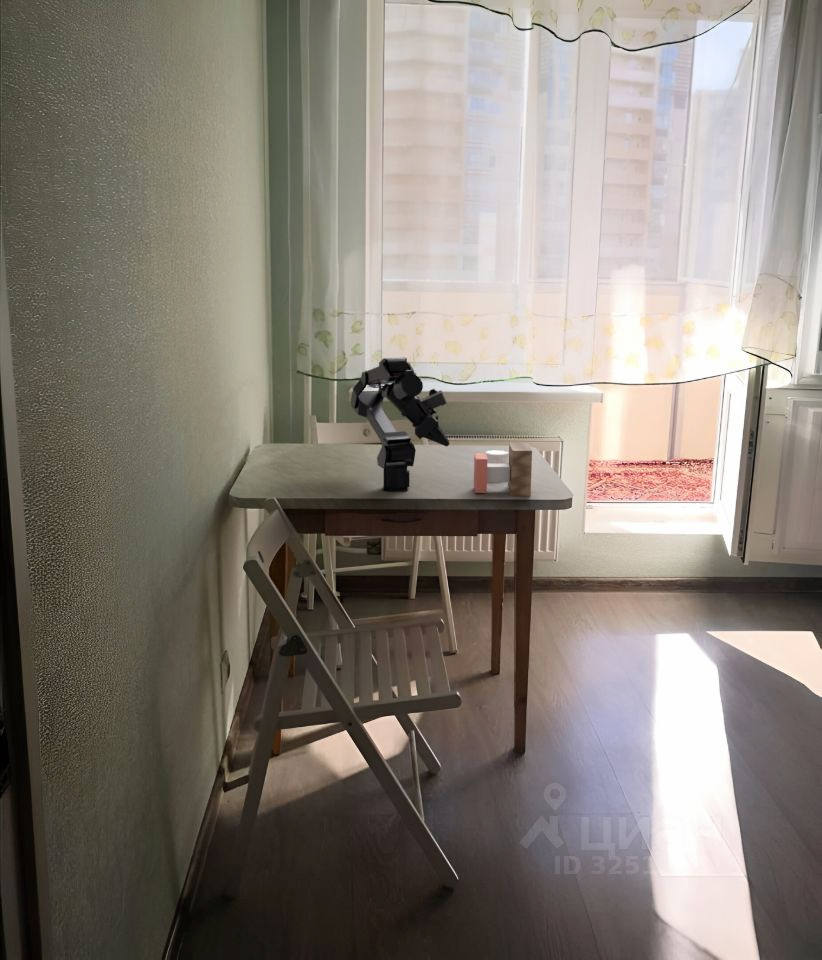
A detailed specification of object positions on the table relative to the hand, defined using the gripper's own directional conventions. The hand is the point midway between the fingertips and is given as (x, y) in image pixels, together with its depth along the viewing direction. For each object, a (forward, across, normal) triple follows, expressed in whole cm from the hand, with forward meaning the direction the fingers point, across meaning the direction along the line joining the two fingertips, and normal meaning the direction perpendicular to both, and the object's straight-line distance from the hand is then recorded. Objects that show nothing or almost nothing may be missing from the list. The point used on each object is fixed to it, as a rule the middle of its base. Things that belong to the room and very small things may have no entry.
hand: (448, 444), depth 242 cm
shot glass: (+19, +17, -1) cm, 26 cm away
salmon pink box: (+17, 0, 0) cm, 17 cm away
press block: (+22, 0, -4) cm, 23 cm away
